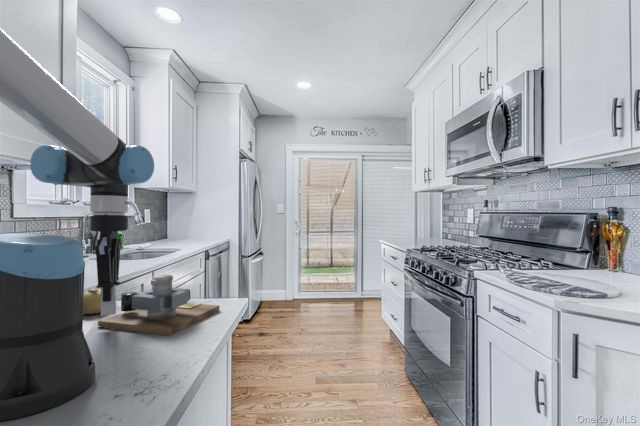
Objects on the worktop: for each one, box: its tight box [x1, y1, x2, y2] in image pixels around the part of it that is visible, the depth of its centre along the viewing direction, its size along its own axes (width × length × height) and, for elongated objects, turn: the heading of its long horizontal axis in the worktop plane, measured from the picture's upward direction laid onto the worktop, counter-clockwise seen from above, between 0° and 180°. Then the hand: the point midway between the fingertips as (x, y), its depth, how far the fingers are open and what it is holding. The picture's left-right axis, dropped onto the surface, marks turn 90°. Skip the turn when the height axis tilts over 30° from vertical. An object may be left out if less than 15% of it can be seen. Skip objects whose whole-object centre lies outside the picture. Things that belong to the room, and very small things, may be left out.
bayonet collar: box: [120, 287, 191, 312], centre depth 82 cm, size 17×10×5 cm, turn 75°
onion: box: [83, 288, 101, 315], centre depth 89 cm, size 8×8×7 cm
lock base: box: [97, 274, 220, 337], centre depth 84 cm, size 20×20×12 cm
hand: (108, 313), depth 77 cm, fingers closed
